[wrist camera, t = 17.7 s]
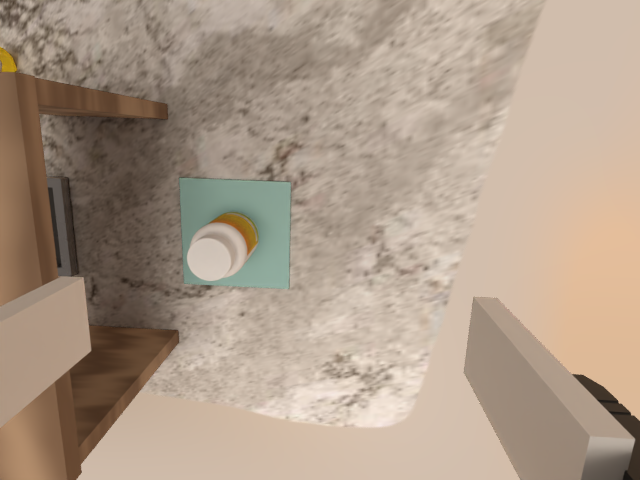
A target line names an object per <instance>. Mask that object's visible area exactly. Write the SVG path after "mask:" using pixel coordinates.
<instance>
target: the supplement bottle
mask: <svg viewBox="0 0 640 480" xmlns="http://www.w3.org/2000/svg"><path fill="white" fill-rule="evenodd" d="M258 242H259V232H258V228H257V226H256V224H255V222H254V221H253V220H252V219H251V218H250V217H249V216H247V215H245V214H243V213H241V212H226V213H224V214H222V215H220V216H218V217H217V218H215V219H214V220H212V221H211V222H209V223H208V224H206V225H205V226H203V227H202V228H200V229H199V230H198V231H197V232H196V233H195V235H194V236H193V238H192V240H191V243H190V248H189V250H188V253H187V263H188V266H189V268H190V270H191V271H192V272H193V274H195V275H196V276H197V277H199V278H200V279H203V280H206V281H215V280H219V279H221V278H226V277H229V276H232V275H234V274H235V273H237V272H238V271H239V270H240V269H241V268H242V267H243V265H244V264H245V263H246V261H247V260H248V259H249V257H250V256H251V255H252V253H253V252H254V251H255V249H256V247H257V245H258Z"/></svg>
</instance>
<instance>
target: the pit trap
mask: <svg viewBox="0 0 640 480" xmlns="http://www.w3.org/2000/svg"><path fill="white" fill-rule="evenodd" d="M47 185H48V194H49V202H50V211H51V219H52V227H53V236H54V244H55V253H56V261H57V269H58V276H68V277H72V276H74V275H76V274H78V269H77V260H76V251H75V241H74V232H73V223H72V213H71V204H70V195H69V185H68V178H67V177H47Z"/></svg>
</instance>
